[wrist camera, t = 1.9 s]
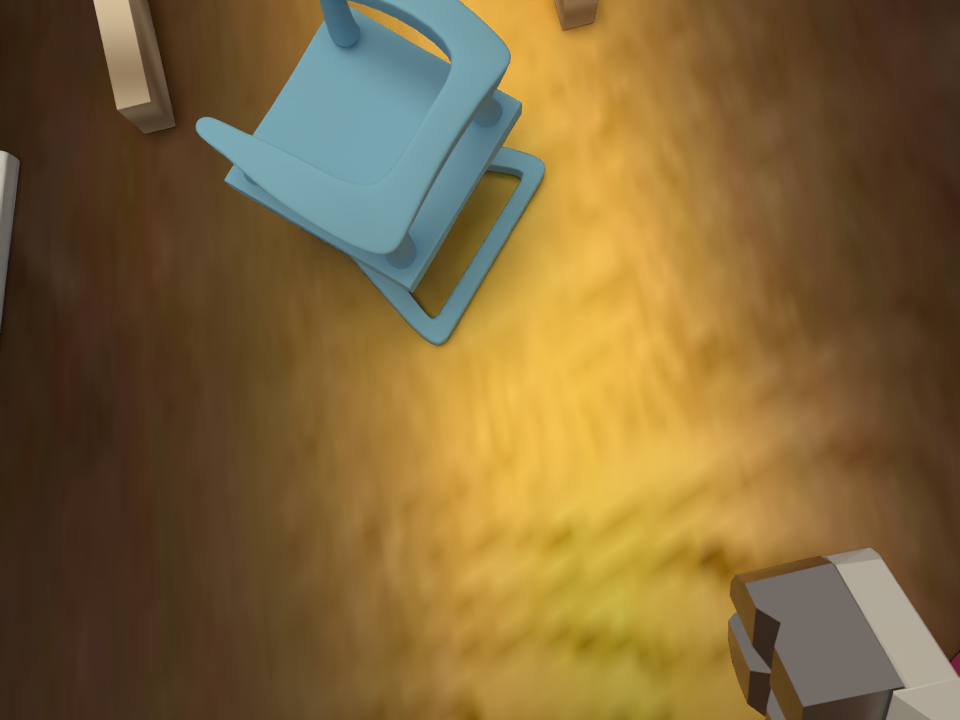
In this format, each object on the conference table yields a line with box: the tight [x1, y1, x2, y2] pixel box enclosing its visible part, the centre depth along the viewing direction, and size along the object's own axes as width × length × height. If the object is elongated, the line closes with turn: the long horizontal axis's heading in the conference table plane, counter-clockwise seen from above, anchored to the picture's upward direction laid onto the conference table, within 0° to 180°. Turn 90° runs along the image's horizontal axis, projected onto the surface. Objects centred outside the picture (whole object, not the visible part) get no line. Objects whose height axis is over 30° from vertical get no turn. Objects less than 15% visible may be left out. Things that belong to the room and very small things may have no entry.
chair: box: [196, 0, 545, 345], centre depth 28 cm, size 8×8×12 cm
